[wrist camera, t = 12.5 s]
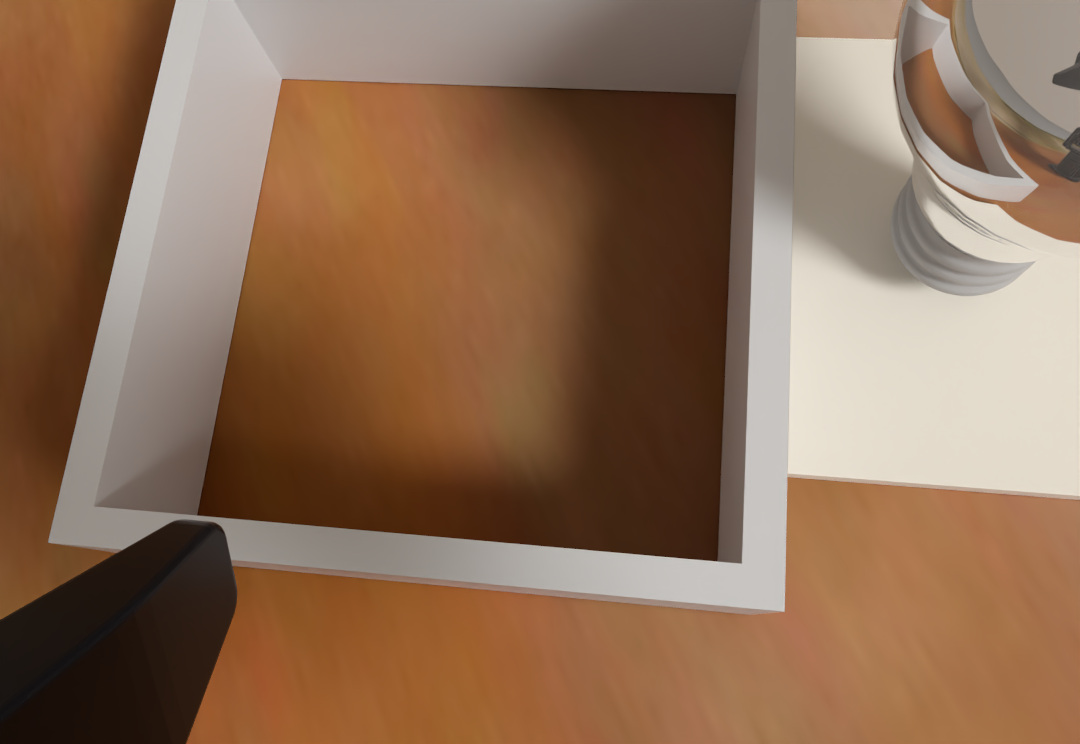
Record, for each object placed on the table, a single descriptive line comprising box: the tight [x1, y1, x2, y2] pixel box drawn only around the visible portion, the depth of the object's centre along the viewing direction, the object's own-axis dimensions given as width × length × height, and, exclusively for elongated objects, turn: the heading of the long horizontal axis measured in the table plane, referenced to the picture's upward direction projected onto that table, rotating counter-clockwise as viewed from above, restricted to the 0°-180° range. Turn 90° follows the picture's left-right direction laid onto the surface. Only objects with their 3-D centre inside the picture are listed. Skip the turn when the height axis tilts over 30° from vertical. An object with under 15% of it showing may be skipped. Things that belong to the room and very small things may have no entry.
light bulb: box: [891, 0, 1080, 296], centre depth 17 cm, size 7×7×12 cm
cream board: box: [787, 37, 1080, 500], centre depth 23 cm, size 12×8×1 cm, turn 175°
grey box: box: [48, 0, 797, 615], centre depth 21 cm, size 15×15×4 cm
